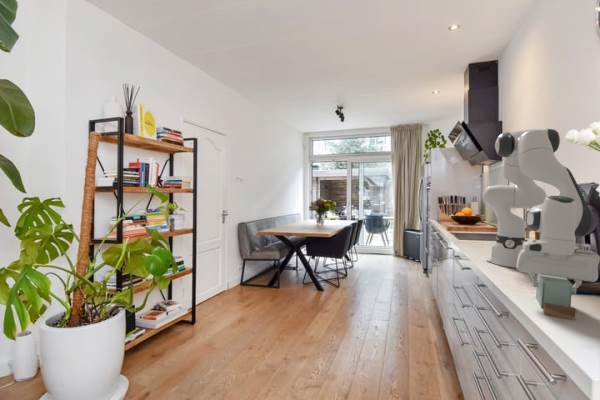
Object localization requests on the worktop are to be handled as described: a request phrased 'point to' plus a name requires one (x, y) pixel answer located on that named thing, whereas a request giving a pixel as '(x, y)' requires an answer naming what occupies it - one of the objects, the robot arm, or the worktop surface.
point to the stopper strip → (559, 311)
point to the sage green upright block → (553, 290)
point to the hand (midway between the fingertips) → (553, 289)
